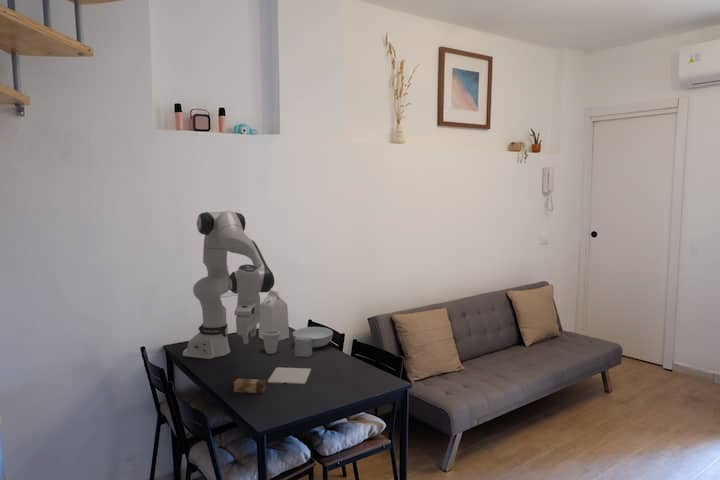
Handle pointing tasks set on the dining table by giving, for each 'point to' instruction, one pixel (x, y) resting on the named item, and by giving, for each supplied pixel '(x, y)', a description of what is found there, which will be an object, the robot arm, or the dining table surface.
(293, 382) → the mat
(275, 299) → the milk
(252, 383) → the wooden block
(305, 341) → the medicine box
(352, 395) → the dining table surface
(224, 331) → the robot arm
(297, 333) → the serving bowl
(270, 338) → the dixie cup
